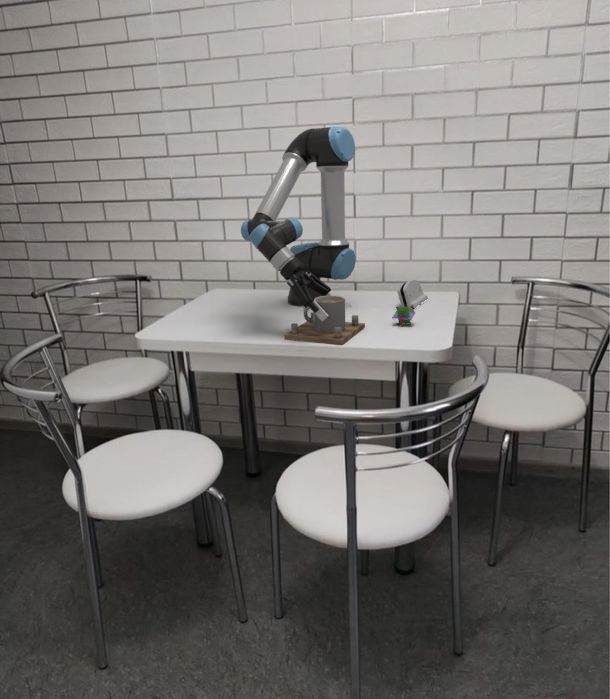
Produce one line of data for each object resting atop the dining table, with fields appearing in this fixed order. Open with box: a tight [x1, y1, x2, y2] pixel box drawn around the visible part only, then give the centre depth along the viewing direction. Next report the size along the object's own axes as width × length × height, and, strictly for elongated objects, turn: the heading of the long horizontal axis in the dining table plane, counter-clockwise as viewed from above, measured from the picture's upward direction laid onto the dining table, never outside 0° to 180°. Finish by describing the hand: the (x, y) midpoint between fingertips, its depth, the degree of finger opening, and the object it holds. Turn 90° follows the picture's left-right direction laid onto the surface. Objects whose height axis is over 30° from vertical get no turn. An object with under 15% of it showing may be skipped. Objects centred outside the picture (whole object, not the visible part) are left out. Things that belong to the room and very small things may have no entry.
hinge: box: [397, 279, 429, 309], centre depth 229 cm, size 17×5×10 cm, turn 152°
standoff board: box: [284, 311, 366, 346], centre depth 197 cm, size 20×20×4 cm
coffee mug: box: [303, 295, 346, 333], centre depth 196 cm, size 13×10×10 cm
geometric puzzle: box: [391, 305, 416, 326], centre depth 202 cm, size 7×7×8 cm
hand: (332, 313), depth 194 cm, fingers open, 11 cm apart
